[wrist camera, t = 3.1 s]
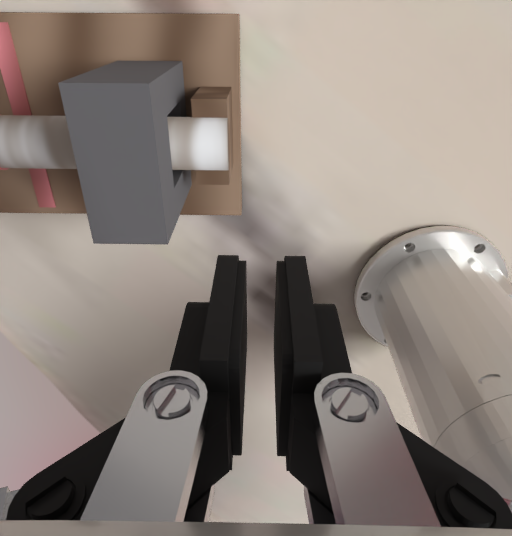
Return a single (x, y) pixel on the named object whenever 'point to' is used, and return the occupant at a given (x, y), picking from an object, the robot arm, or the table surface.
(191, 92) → the pipe rig
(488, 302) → the robot arm
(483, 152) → the table surface
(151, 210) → the collar
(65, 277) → the table surface
